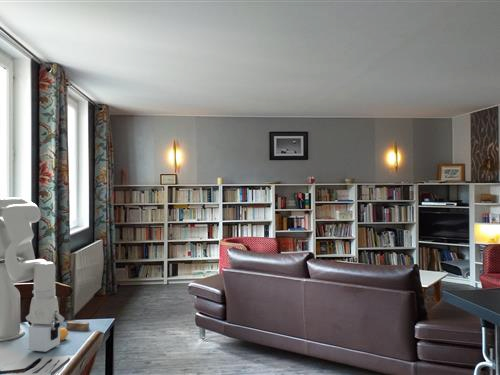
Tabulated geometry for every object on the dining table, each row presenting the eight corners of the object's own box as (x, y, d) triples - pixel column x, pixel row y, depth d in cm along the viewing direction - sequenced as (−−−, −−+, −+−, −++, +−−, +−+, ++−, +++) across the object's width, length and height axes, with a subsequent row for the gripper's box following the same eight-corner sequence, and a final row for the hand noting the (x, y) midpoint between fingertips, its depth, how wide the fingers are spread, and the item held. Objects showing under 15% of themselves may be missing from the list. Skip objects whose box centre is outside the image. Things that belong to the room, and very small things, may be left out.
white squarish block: (28, 349, 147) (28, 327, 147) (43, 342, 154) (43, 320, 154) (45, 351, 145) (46, 328, 145) (59, 343, 153) (59, 321, 153)
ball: (61, 325, 162) (60, 337, 162) (52, 329, 157) (51, 341, 157) (71, 326, 161) (70, 338, 161) (62, 330, 156) (61, 342, 156)
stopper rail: (66, 329, 171) (66, 322, 171) (69, 327, 173) (69, 321, 173) (86, 330, 169) (86, 324, 169) (89, 329, 171) (89, 322, 171)
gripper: (18, 295, 148) (18, 340, 148) (57, 297, 145) (57, 343, 145) (32, 290, 156) (33, 333, 156) (70, 292, 152) (70, 336, 152)
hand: (45, 337), depth 150 cm, fingers closed on white squarish block, 7 cm apart
